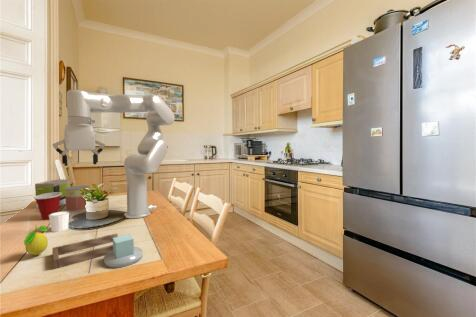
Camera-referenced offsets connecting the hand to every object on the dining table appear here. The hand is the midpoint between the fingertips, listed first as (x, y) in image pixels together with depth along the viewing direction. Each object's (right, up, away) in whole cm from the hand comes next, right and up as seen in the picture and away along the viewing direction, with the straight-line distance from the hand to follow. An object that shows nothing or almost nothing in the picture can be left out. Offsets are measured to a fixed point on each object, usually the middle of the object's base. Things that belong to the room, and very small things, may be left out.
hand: (80, 164), depth 92 cm
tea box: (-47, -26, +45) cm, 70 cm away
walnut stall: (+13, -29, -15) cm, 35 cm away
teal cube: (+26, -28, -18) cm, 43 cm away
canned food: (-29, -26, +39) cm, 55 cm away
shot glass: (-13, -28, +6) cm, 32 cm away
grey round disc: (+27, -30, -19) cm, 44 cm away
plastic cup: (-30, -27, +21) cm, 45 cm away
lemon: (-3, -30, -17) cm, 34 cm away
